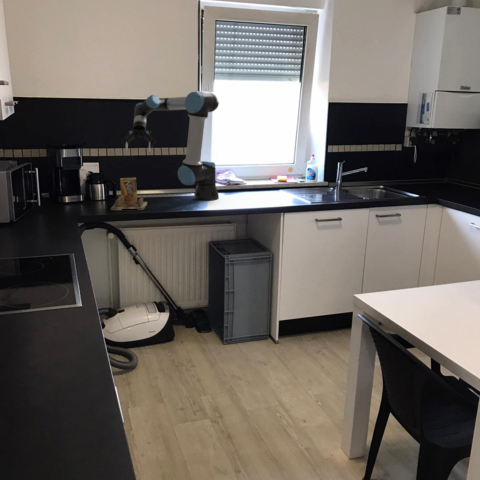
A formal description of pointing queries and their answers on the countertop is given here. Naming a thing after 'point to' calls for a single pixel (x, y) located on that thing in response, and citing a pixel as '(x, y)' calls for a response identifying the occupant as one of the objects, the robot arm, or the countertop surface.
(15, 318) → the countertop surface
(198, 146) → the robot arm
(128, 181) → the candy box
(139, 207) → the slot holder
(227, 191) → the countertop surface
